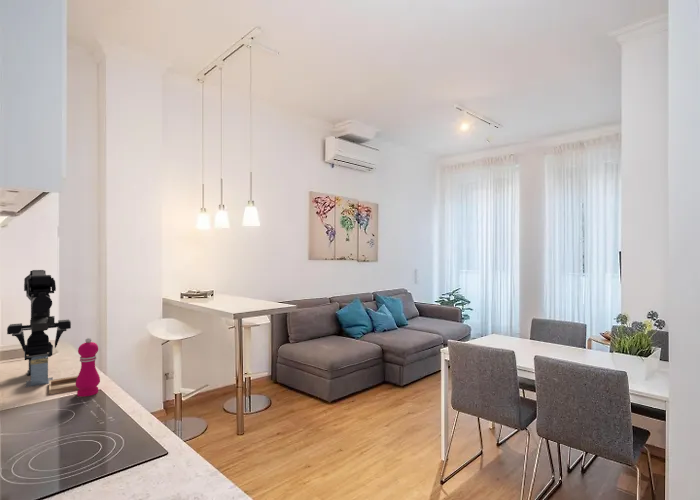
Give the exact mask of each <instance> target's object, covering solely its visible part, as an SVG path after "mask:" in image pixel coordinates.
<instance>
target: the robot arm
mask: <svg viewBox="0 0 700 500" xmlns="http://www.w3.org/2000/svg"><path fill="white" fill-rule="evenodd" d="M23 281H24V284H23V291H24V292H25V295H26V297H27V298H28V300H29V301H30V319H29V324H26V325H24V324H23V323H10V324H8V326H7V329H6V331H7V332H6V335H11V336H12V337H15V338H16V339H17V340H18V342H19V344H20V346H21V348H22V350H23V354H24V355H23V357H24V361H28V370H27V372H26V376H31V358H32V357H39V356H47V355H48V358H49V357H50V358H51V357H52V356H53V350H54V349H53V348H55V349H56V348H57V346H58V343H59V341H60V338H61V336H62V334H63V332H67V331H68V330H69V329H71V325H72V322H71V320H70V319H59V320H58V321H57V322H55V315H51V308H52V306H53V301H52V298H51V295H50V294H55V292H56V290H57V288H56V287H57V285H56V280H55V278H54V277H52V275H50V274H46V270H44V269H32V270H30V272H29V274H28V275H27V276H26V277H25V278H24V280H23ZM54 328H56V333H55V340H54V345H53V344H52V342H51V341H50V337H49V335H48V334H46V332H45V331H48V330H49V329H54ZM24 331H30V333H31V334H30V335H29V336H28V337H27V338H26V339H27V340H26V341H25V334H24Z"/></svg>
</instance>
